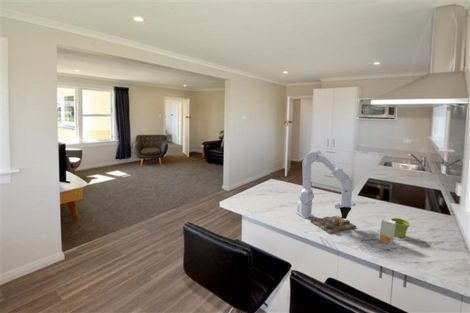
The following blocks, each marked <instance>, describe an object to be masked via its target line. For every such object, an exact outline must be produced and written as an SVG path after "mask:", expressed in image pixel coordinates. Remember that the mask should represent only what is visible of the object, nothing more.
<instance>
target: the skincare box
mask: <svg viewBox="0 0 470 313" xmlns="http://www.w3.org/2000/svg"><path fill="white" fill-rule="evenodd" d="M395 227H396V222H395V221H392V220H391V219H388V218H383V219H382V220H381V222H380V231H379V236H378V241H379V242H382V243H386V244H388V245H392V243H393V242H394V238H395V236H394V233H395Z"/></svg>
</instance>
